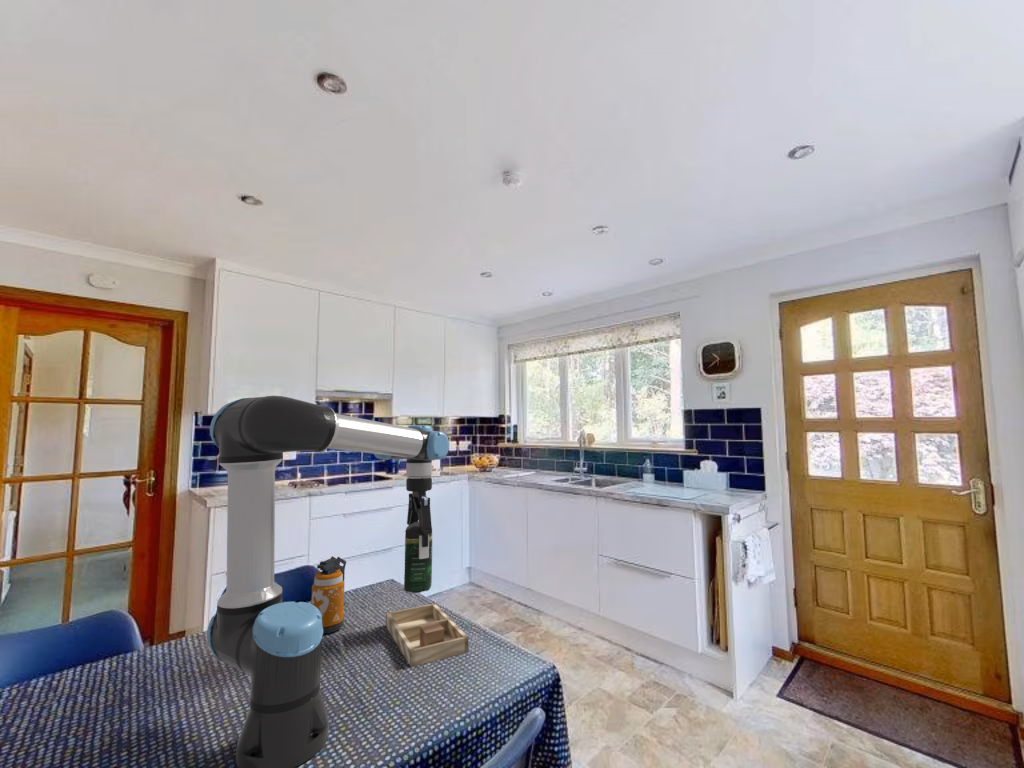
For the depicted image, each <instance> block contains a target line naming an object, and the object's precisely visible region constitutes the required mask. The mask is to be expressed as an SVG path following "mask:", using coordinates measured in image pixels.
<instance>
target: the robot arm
mask: <svg viewBox="0 0 1024 768" xmlns="http://www.w3.org/2000/svg"><path fill="white" fill-rule="evenodd" d="M209 427H210V428H209V434H210V438H211V440H212V442H213V444H214V445H215V446H216V448H218V449H219V450H218V451H219V452H218V460H219V461H218V462H219V463H218V464H219V466H220V467H222V468H223V469H224V470H226V472H227V507H226V509H227V511H226V512H227V514H226V515H227V517H226V519H227V520H226V522H227V523H226V524H227V525H226V527H227V528H226V529H227V530H226V533H227V534H226V590H225V591H224V593H223V594H222V595H221V596H220V597H219V598H218V600H217V603H216V610H215V614H214V615H213V616H212V617H211V618H210V621H209V623H208V625H207V630H206V642H207V646H208V648H209V650H210V651H211V652H212V654H213V655H214V656H215V658H217V660H219V661H220V662H223V663H225V665H228V666H231V667H233V668H235V669H237V670H239V671H241V672H243V673H245V674H246V675H248V676H249V677H250V680H251V681H250V698H249V700H250V701H249V709H248V713H247V715H246V718H245V721H244V724H243V727H242V729H241V731H240V734H239V737H238V740H237V743H236V750H235V764H237V765H236V767H237V766H238V767H239V768H296V767H298V766H300V765H301V764H305V762H307V761H308V760H310V759H311V758H313V757H314V756H315V755H317V754H318V753H319V752H320V751H321V749H322V748H323V747H324V746H325V744H326V743H327V741H328V738H329V733H330V731H329V727H330V721H329V716H328V713H327V710H326V706H325V704H324V700H323V697H322V694H321V693H322V692H321V677H322V676H321V673H322V672H321V671H322V648H323V647H322V646H323V636H324V634H323V626H322V615H321V613H320V611H319V609H318V608H317V607H315V606H314V605H312V604H311V603H309V602H304V601H299V602H296V601H283V587H282V586H281V585H279V584H278V583H277V582H276V581H275V542H276V541H275V538H276V537H275V536H276V535H275V526H276V523H275V520H276V518H275V517H276V515H275V513H276V512H275V511H276V510H275V509H276V507H275V506H276V504H275V503H276V501H275V500H276V490H275V489H276V487H275V486H276V483H275V482H276V467H277V466H278V465H279V464H280V463H281V462H282V461H283V460H284V453H290V452H291V453H293V452H315V453H322V452H324V451H326V450H327V449H331V450H337V451H338V450H339V451H350V452H358V453H366V454H372V455H374V457H375V458H376V459H377V460H386V461H389V460H406V470H405V471H406V472H405V473H406V474H405V476H406V477H408V478H406V483H405V484H406V485H405V487H406V488H405V489H406V491H407V492H411V493H408V507H407V517H406V518H407V519H406V525H407V527H408V526H409V525H411V524H412V523H413V522H419V527H420V533H419V534H418V536H419V559H424V558H429V534H430V533H432V534H433V527H432V514H431V513H432V512H431V498H430V497H427V492H428V491H431V490H432V488H433V478H432V475H433V472H432V471H433V468H434V465H433V463H432V462H433V461H437V460H443V459H444V458H445V457H446V456H447V455H448V453H449V450H450V440H449V438H448V436H447V434H446V433H444V432H443V431H436V430H432V427H431V426H430V425H408V426H407V427H406V426H402V425H397V424H396V425H395V424H393V423H387V422H381V421H376V420H372V419H366V418H360V417H355V416H351V415H345V414H339V413H336V412H335V411H334V409H333V408H332V407H329V406H324V405H319V404H317V403H316V404H315V403H311V402H308V401H304V400H301V399H296V398H293V397H289V396H282V395H267V396H257V397H256V396H255V397H254V396H253V397H244V398H243V397H242V398H239V399H236V400H233V401H230V402H227V403H226V404H225V405H222V406H221V408H220V409H218V410H217V411H216V412H215V414H214V415H213V417H212V419H211V422H210V425H209ZM425 529H426V530H425ZM238 767H237V768H238Z"/></svg>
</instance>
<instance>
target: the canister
mask: <svg viewBox="0 0 1024 768" xmlns="http://www.w3.org/2000/svg"><path fill="white" fill-rule="evenodd" d="M341 564H342V565H341ZM346 565H347V561H346V560H345V559H343V558H341V557H340V556H337V558H336V557H335V556H331V557H330V558H328V559H326V560H323V561H322V560H321V561H320V562H319V564H317V566H316V568H317V570H318V569H319V572H317V573H316V574H315V576H314V578H313V579H314V580H313V584H312V585H311V598H310V599H311V603H310V604H312V605H314V606H315V607H317V608H318V609H319V611H320V613H321V615H322V626H323V635H327V634H331V633H334V632H335V631H337V630H340V629H341V628H343V626H344V613H345V610H344V608H345V605H346V604H345V575H346V574H345V570H346ZM326 633H327V634H326Z"/></svg>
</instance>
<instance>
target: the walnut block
mask: <svg viewBox="0 0 1024 768" xmlns="http://www.w3.org/2000/svg"><path fill="white" fill-rule="evenodd" d="M440 642H444V628H443V627H442V626H441V625H440V624H439V623H438V622H435V623H431V624H426V625H422V626H420V647H423V646H427V645H432V644H436V643H440Z"/></svg>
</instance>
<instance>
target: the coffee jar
mask: <svg viewBox="0 0 1024 768" xmlns="http://www.w3.org/2000/svg"><path fill="white" fill-rule="evenodd" d="M408 525H409V524H408ZM408 525H407V527H406V528H405V530H404V531H405V532H404V533H405V537H404V538H405V539H404V540H405V541H404V578H403V580H404V581H403V583H404V584H403V588H404V591H405V592H406V593H412V594H419V593H423V592H427V591H429V590H430V589H431V587H432V582H433V581H432V579H433V578H432V577H433V576H432V574H433V532H432V533H430V534H429V558H424V559H419V536H418V534H419V533H420V527H419V521H418V522H413V523H412V524H411V525H409V526H408ZM425 530H426V529H425Z"/></svg>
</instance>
